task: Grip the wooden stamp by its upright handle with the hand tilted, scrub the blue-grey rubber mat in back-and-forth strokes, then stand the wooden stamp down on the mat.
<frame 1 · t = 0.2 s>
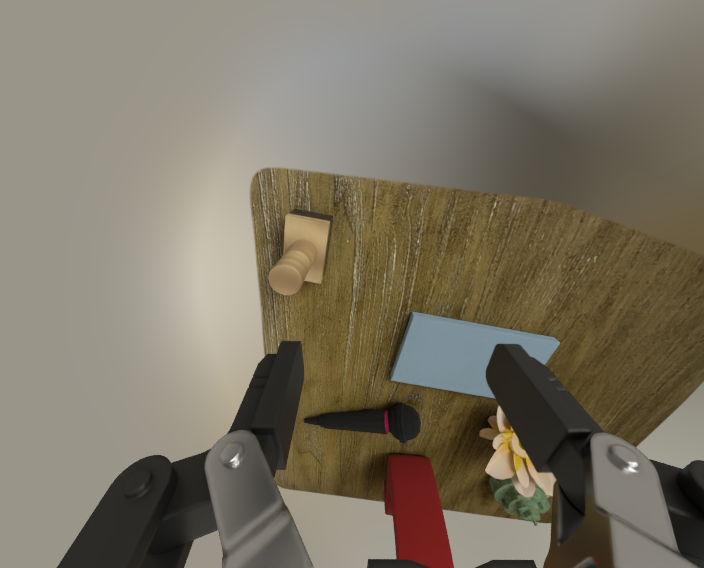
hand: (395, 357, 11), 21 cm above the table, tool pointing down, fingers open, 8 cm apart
decorative artifact: (514, 478, 50), on the table
red curved piece: (404, 465, 51), on the table
decorative flower: (522, 418, 43), on the table
microphone: (360, 407, 44), on the table
wooden stamp: (310, 241, 30), on the table
mat: (467, 357, 37), on the table
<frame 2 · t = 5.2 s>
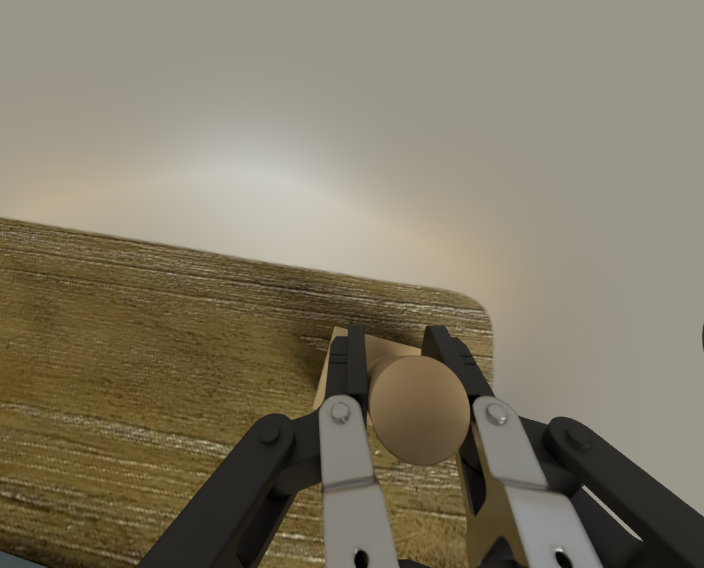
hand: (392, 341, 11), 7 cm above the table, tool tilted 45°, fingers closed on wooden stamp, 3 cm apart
wooden stamp: (378, 377, 17), on the table, touching gripper
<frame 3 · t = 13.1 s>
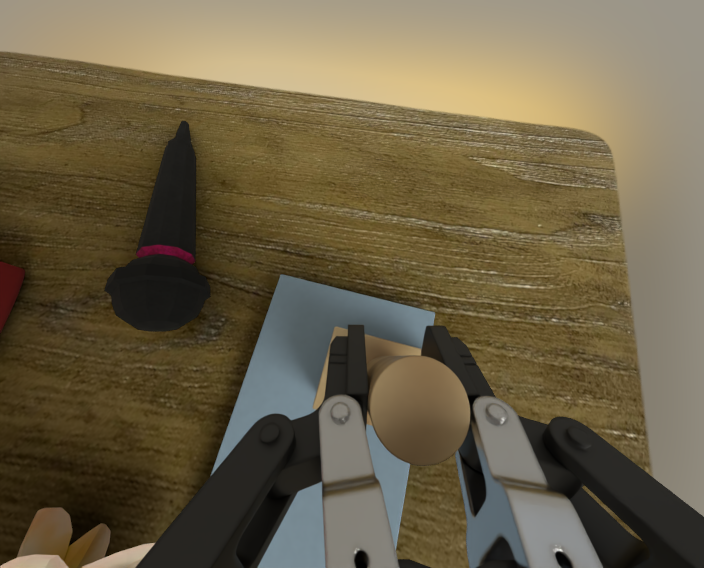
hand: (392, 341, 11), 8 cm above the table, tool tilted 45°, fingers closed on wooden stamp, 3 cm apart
microphone: (197, 222, 22), on the table
wooden stamp: (378, 377, 17), point 1 cm above the table, touching gripper
mat: (321, 432, 17), on the table
when the fingers open (7 cm above the table, at t = 21.0 s): wooden stamp drops 1 cm, resting on mat.
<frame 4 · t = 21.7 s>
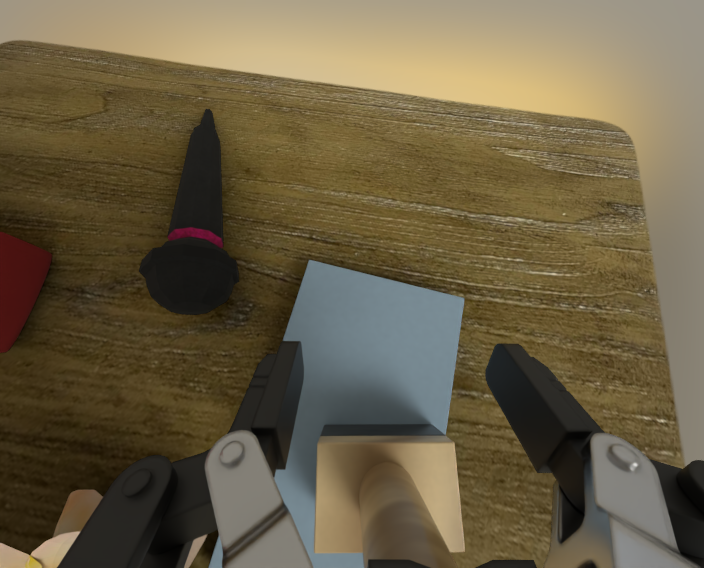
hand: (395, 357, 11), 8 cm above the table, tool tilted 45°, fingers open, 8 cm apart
microphone: (222, 209, 22), on the table
wooden stamp: (379, 464, 16), point 1 cm above the table, touching mat
mat: (351, 417, 17), on the table
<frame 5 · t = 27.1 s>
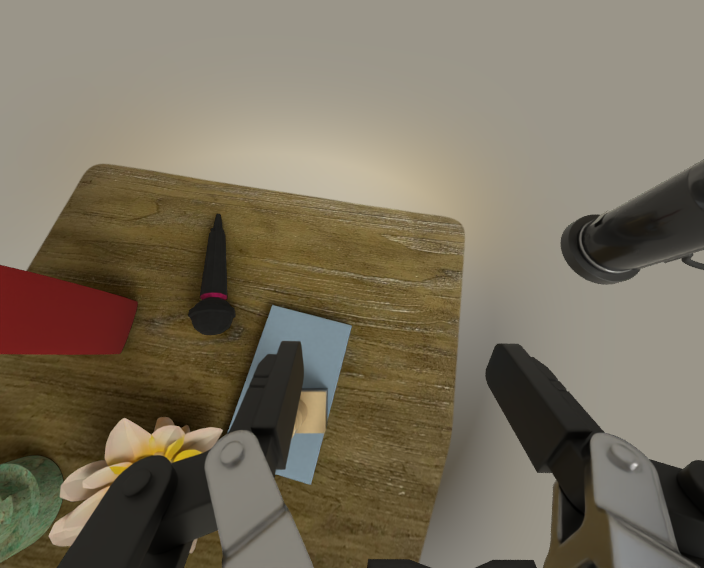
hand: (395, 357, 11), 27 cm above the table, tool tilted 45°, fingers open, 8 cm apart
decorative artifact: (23, 500, 31), on the table
red curved piece: (100, 324, 37), on the table
decorative flower: (175, 476, 32), on the table
microphone: (226, 274, 40), on the table
wooden stamp: (301, 406, 33), point 1 cm above the table, touching mat
mat: (291, 385, 35), on the table
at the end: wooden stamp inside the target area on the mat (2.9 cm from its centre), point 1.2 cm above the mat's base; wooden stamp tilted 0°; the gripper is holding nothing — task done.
